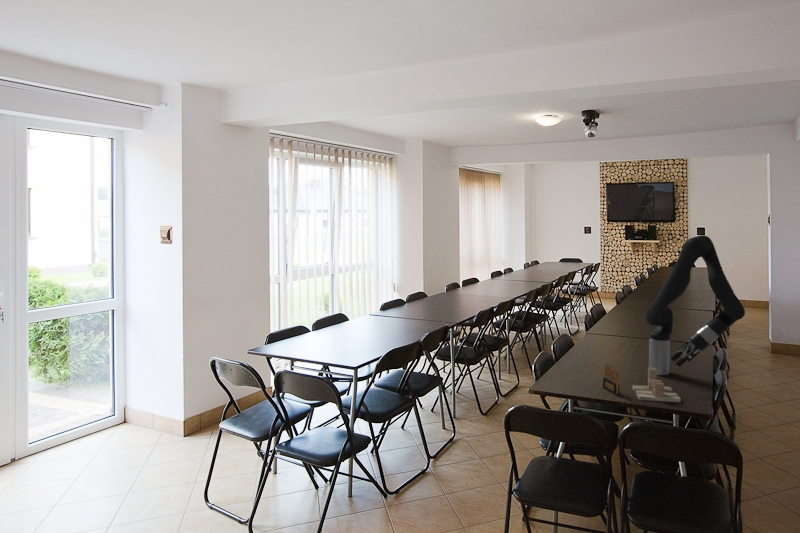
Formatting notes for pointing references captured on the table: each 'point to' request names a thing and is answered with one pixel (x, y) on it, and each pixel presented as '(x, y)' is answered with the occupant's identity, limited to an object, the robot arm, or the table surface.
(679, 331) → the table surface
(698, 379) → the table surface
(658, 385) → the stand
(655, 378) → the maple T-beam
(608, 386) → the ammunition clip
